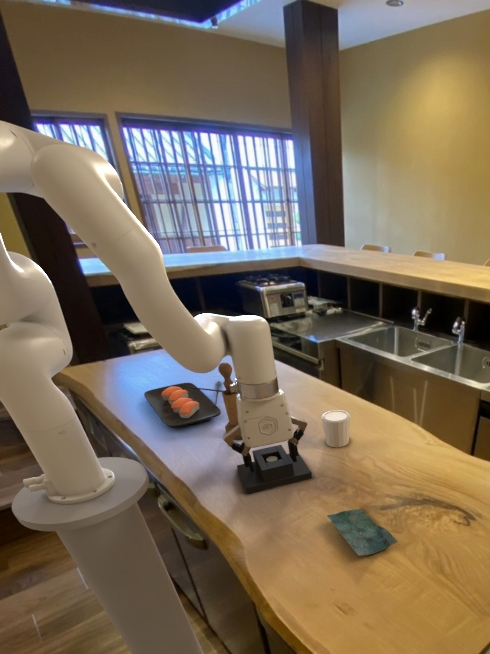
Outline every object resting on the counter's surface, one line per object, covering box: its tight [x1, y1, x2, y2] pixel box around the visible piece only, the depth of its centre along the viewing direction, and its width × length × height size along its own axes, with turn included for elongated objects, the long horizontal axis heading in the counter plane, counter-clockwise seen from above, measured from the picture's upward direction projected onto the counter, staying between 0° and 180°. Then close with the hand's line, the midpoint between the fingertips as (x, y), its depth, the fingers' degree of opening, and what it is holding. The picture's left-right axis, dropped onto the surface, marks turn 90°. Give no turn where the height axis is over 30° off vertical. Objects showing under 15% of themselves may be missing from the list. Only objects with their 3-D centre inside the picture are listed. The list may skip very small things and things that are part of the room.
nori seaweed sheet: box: [326, 508, 399, 557], centre depth 77 cm, size 13×8×2 cm, turn 32°
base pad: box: [236, 452, 313, 495], centre depth 92 cm, size 14×10×4 cm
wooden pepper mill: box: [217, 362, 243, 440], centre depth 103 cm, size 7×6×18 cm
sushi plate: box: [143, 380, 224, 428], centre depth 123 cm, size 29×30×4 cm
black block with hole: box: [251, 444, 294, 482], centre depth 92 cm, size 6×9×3 cm
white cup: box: [321, 409, 351, 448], centre depth 103 cm, size 7×7×7 cm
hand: (272, 463), depth 92 cm, fingers open, 9 cm apart
